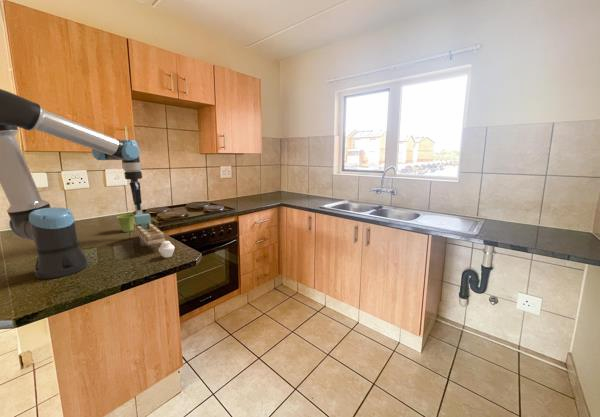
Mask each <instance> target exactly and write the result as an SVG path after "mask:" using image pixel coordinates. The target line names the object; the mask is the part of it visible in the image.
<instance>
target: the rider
mask: <svg viewBox="0 0 600 417" xmlns="http://www.w3.org/2000/svg"><path fill="white" fill-rule="evenodd" d="M134 220H135V223H136V224H137V225H140V226H141V227H142V228H143V229H146V228H148V224H147V223H151V224H152V218H151V214H150V213H148V212H147V213H142V214H139V215H136V214H135V215H134Z"/></svg>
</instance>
